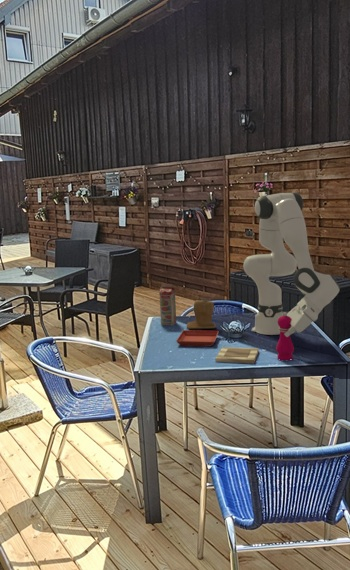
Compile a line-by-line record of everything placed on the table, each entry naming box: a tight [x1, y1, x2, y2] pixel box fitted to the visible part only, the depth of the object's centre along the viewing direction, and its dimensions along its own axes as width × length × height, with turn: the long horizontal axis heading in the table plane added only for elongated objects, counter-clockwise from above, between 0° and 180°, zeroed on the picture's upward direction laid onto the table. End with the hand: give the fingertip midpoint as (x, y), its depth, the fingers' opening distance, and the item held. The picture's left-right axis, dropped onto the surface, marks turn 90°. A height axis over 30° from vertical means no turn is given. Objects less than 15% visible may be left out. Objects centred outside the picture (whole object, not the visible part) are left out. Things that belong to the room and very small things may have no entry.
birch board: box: [215, 346, 259, 364], centre depth 219 cm, size 16×16×2 cm
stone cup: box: [186, 299, 217, 330], centre depth 267 cm, size 15×12×15 cm
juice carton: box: [158, 283, 177, 326], centre depth 278 cm, size 7×7×22 cm
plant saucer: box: [175, 329, 220, 347], centre depth 244 cm, size 18×18×3 cm
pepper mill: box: [275, 311, 295, 361], centre depth 212 cm, size 7×7×20 cm
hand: (283, 332), depth 212 cm, fingers open, 8 cm apart
